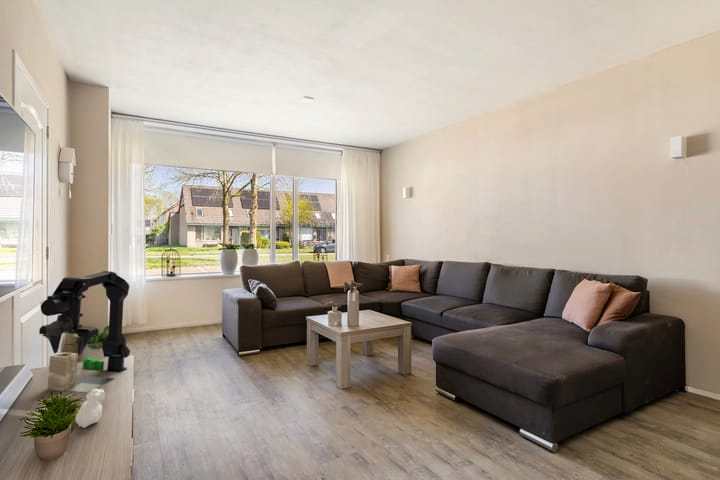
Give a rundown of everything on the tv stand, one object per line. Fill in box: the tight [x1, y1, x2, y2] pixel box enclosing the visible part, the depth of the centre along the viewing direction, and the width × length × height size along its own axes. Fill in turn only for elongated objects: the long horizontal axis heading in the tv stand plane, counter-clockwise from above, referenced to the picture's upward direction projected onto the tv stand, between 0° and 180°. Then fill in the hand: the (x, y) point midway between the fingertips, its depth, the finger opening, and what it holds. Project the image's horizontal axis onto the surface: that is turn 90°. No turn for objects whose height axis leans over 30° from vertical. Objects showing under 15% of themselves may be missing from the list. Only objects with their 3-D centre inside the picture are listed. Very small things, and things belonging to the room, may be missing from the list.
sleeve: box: [46, 351, 79, 391], centre depth 149 cm, size 6×6×12 cm
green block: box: [82, 356, 105, 372], centre depth 173 cm, size 11×4×5 cm, turn 67°
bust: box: [75, 388, 106, 429], centre depth 126 cm, size 12×8×11 cm
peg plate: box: [43, 374, 116, 395], centre depth 153 cm, size 17×16×6 cm
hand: (67, 353), depth 146 cm, fingers open, 9 cm apart
